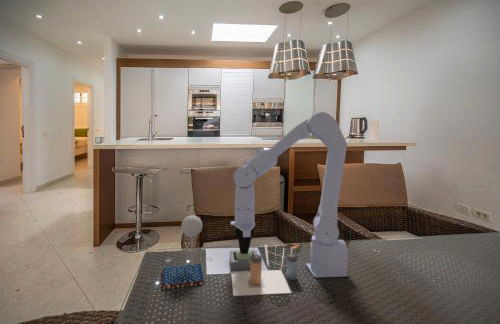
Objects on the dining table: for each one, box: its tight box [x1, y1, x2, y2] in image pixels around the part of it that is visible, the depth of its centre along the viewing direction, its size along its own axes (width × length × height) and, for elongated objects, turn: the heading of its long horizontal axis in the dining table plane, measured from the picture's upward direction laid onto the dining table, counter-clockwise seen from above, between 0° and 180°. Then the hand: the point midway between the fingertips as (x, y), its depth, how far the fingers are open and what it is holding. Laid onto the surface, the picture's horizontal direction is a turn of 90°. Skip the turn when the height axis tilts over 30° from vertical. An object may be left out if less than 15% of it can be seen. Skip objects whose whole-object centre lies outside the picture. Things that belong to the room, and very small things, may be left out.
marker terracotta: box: [249, 254, 263, 286], centre depth 75 cm, size 3×3×7 cm
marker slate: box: [285, 253, 298, 281], centre depth 79 cm, size 3×3×6 cm
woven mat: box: [160, 263, 205, 290], centre depth 78 cm, size 10×11×2 cm
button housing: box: [229, 249, 258, 272], centre depth 87 cm, size 8×8×2 cm
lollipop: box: [180, 214, 204, 265], centre depth 84 cm, size 6×6×15 cm
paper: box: [230, 269, 292, 297], centre depth 76 cm, size 14×12×1 cm
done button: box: [235, 249, 252, 261], centre depth 87 cm, size 5×5×3 cm
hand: (244, 252), depth 87 cm, fingers closed, pressing on done button
